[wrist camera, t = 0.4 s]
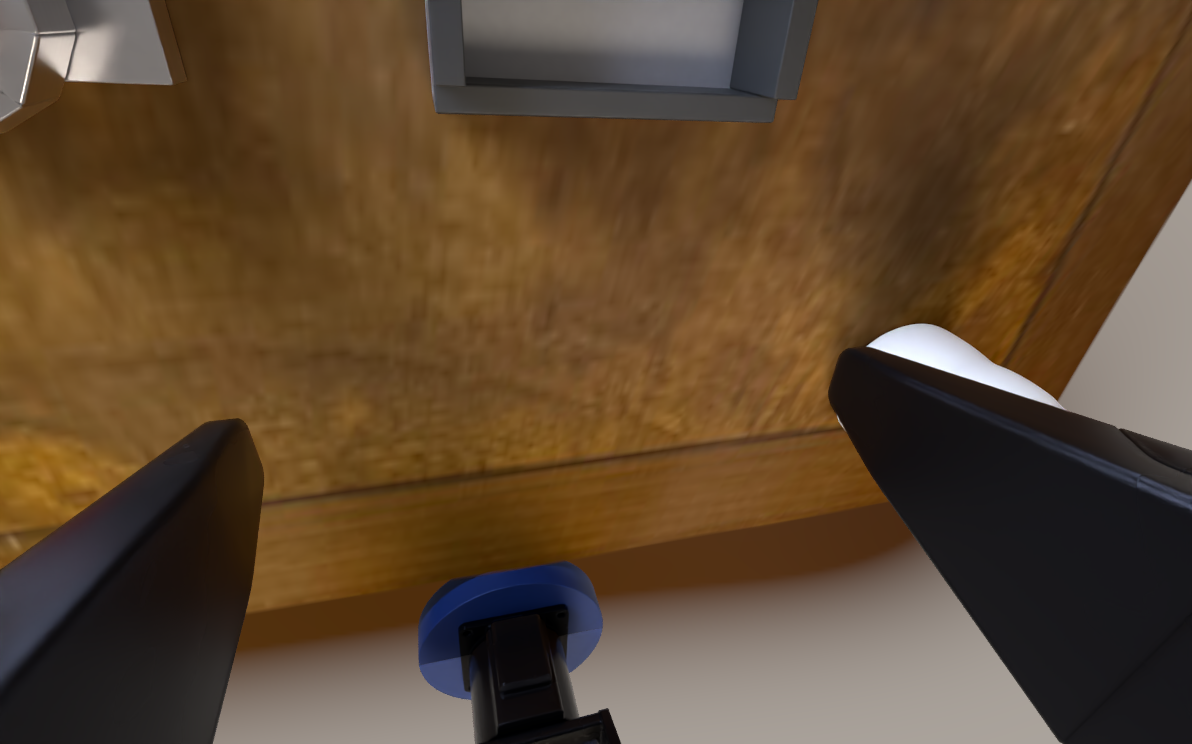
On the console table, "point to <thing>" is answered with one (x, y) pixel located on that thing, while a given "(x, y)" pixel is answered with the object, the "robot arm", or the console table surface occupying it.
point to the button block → (80, 49)
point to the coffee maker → (618, 57)
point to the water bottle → (955, 359)
